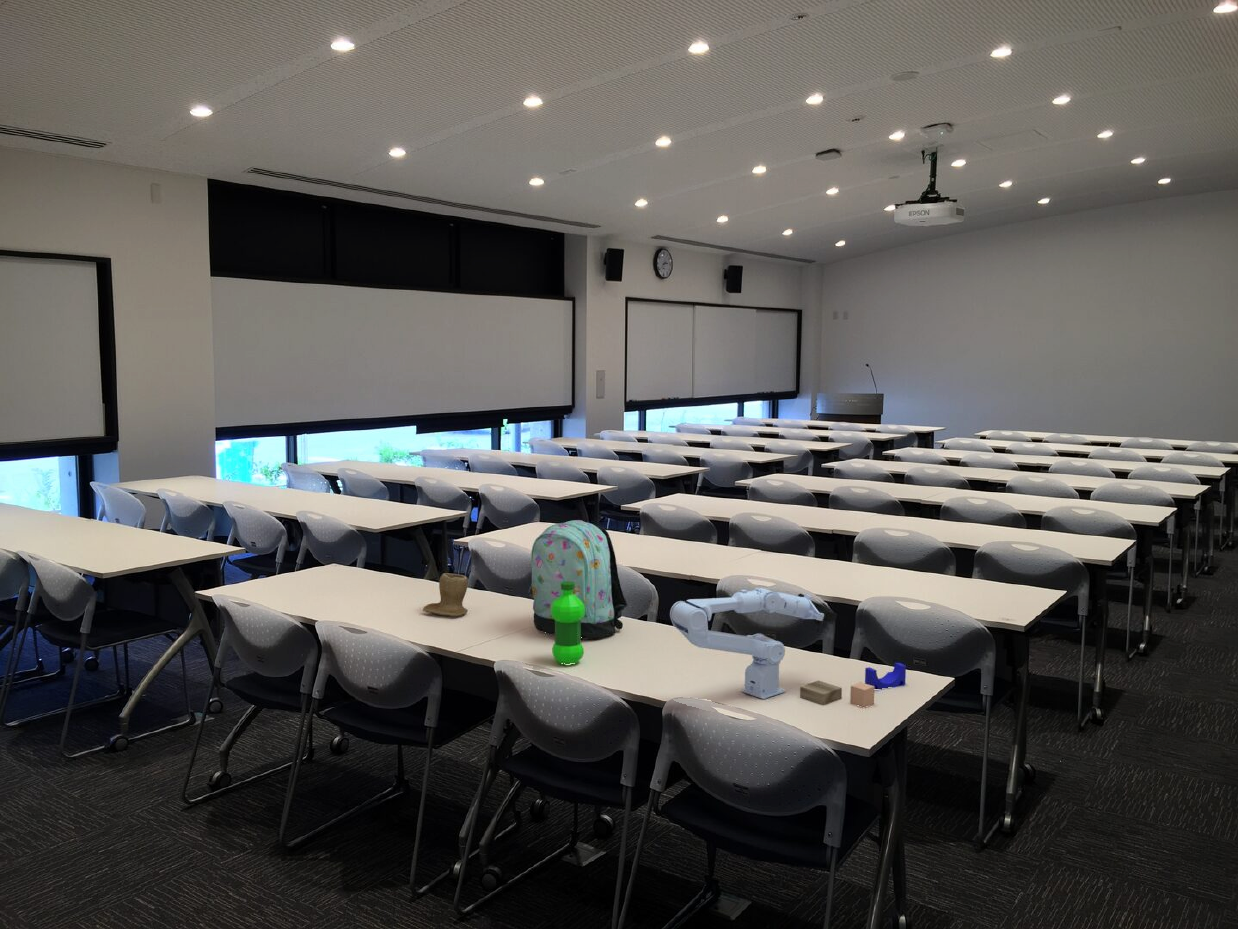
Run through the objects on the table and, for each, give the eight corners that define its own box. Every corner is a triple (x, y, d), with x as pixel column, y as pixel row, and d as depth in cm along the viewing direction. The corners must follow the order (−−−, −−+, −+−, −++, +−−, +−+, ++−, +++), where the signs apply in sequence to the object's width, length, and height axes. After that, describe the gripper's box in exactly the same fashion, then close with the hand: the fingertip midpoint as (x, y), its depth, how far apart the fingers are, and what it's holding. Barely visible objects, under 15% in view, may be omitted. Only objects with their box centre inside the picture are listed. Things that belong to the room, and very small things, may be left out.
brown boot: (475, 612, 349) (474, 572, 347) (455, 620, 338) (454, 579, 337) (442, 607, 356) (441, 568, 354) (421, 615, 345) (421, 574, 344)
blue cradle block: (894, 681, 276) (895, 661, 276) (905, 686, 272) (905, 665, 272) (861, 686, 271) (862, 666, 271) (871, 691, 267) (872, 671, 267)
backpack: (515, 638, 317) (514, 524, 313) (546, 619, 340) (545, 513, 336) (604, 648, 306) (604, 530, 302) (630, 628, 329) (631, 519, 324)
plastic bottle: (568, 670, 284) (568, 588, 281) (544, 663, 291) (543, 583, 288) (591, 662, 291) (591, 583, 289) (567, 655, 298) (567, 577, 296)
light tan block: (864, 708, 254) (864, 690, 254) (850, 703, 258) (850, 685, 257) (873, 704, 257) (874, 686, 257) (859, 699, 261) (860, 682, 260)
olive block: (823, 705, 256) (823, 694, 256) (800, 697, 262) (800, 686, 262) (841, 698, 261) (841, 687, 261) (818, 690, 267) (818, 680, 267)
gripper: (810, 600, 261) (847, 608, 267) (780, 583, 273) (816, 591, 280) (802, 624, 261) (839, 632, 268) (772, 606, 274) (808, 614, 280)
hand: (827, 612), depth 274 cm, fingers open, 7 cm apart
